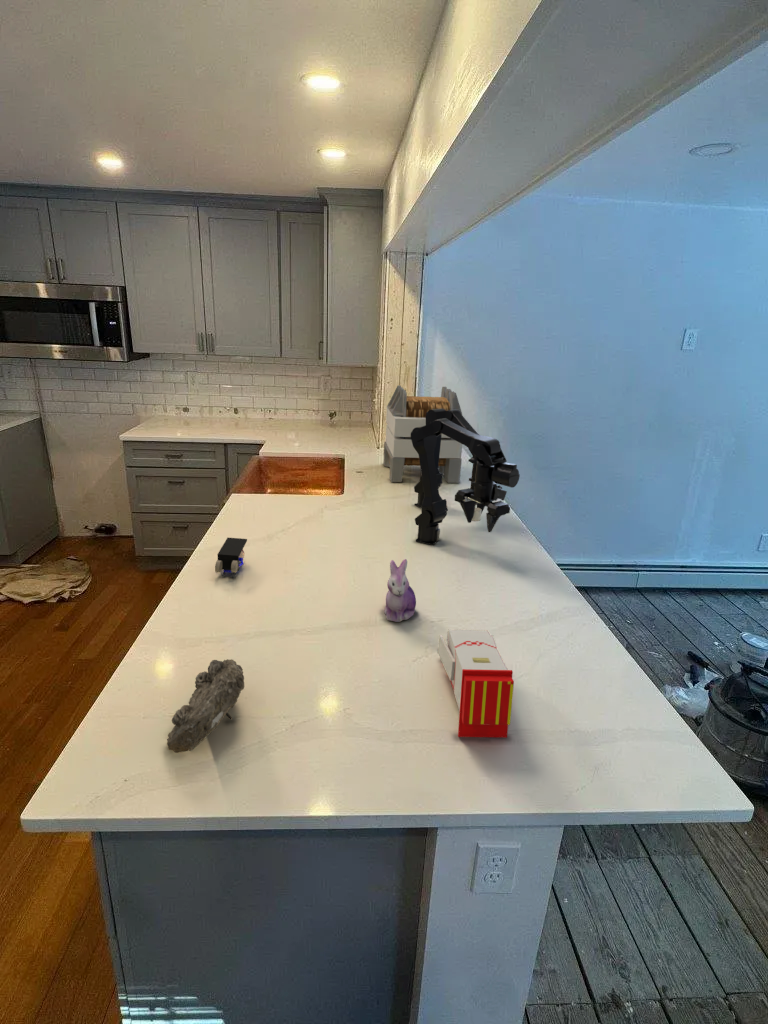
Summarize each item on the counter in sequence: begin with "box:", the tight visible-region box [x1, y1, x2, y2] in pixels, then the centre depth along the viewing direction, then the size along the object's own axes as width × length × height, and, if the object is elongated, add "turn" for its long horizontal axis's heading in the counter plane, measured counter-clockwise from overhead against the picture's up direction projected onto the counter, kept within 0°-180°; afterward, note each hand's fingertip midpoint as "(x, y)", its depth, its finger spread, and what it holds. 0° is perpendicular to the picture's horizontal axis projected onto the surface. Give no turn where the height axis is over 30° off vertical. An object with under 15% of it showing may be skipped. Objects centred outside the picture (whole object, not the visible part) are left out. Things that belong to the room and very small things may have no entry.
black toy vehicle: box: [214, 537, 248, 578], centre depth 166 cm, size 7×8×15 cm
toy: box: [437, 628, 515, 738], centre depth 117 cm, size 12×13×30 cm
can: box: [471, 506, 482, 522], centre depth 208 cm, size 4×4×4 cm
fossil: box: [166, 658, 245, 754], centre depth 106 cm, size 22×10×15 cm
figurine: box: [384, 558, 417, 623], centre depth 145 cm, size 9×10×15 cm
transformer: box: [383, 384, 463, 484], centre depth 268 cm, size 34×33×41 cm
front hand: (479, 527), depth 178 cm, fingers open, 9 cm apart
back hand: (475, 516), depth 208 cm, fingers closed on can, 4 cm apart
